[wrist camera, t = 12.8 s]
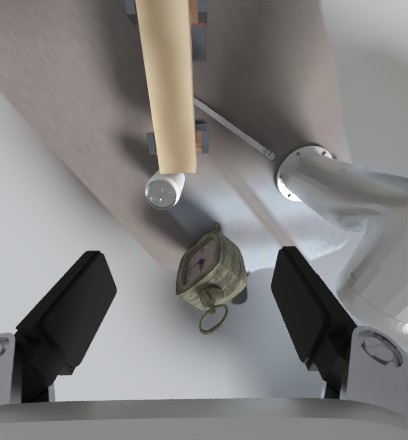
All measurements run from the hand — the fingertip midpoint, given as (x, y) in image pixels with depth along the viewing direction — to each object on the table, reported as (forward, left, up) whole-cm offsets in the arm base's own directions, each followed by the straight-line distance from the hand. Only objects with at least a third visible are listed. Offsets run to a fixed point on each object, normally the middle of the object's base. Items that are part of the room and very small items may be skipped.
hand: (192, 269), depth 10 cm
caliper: (-7, -6, -35) cm, 36 cm away
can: (+7, +4, -34) cm, 35 cm away
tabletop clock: (-2, +23, -34) cm, 42 cm away
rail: (+3, -12, -24) cm, 27 cm away
